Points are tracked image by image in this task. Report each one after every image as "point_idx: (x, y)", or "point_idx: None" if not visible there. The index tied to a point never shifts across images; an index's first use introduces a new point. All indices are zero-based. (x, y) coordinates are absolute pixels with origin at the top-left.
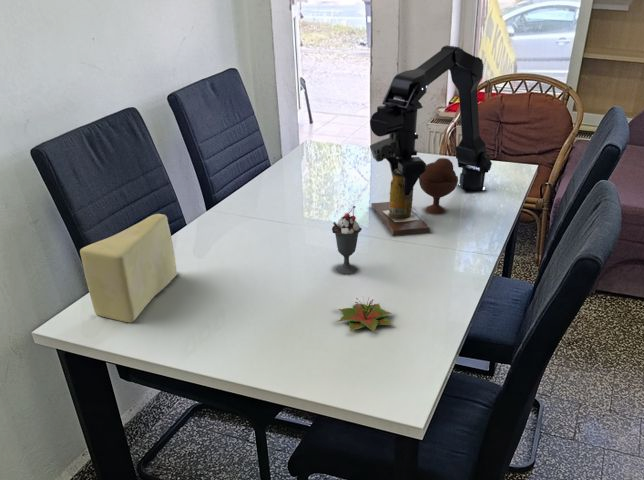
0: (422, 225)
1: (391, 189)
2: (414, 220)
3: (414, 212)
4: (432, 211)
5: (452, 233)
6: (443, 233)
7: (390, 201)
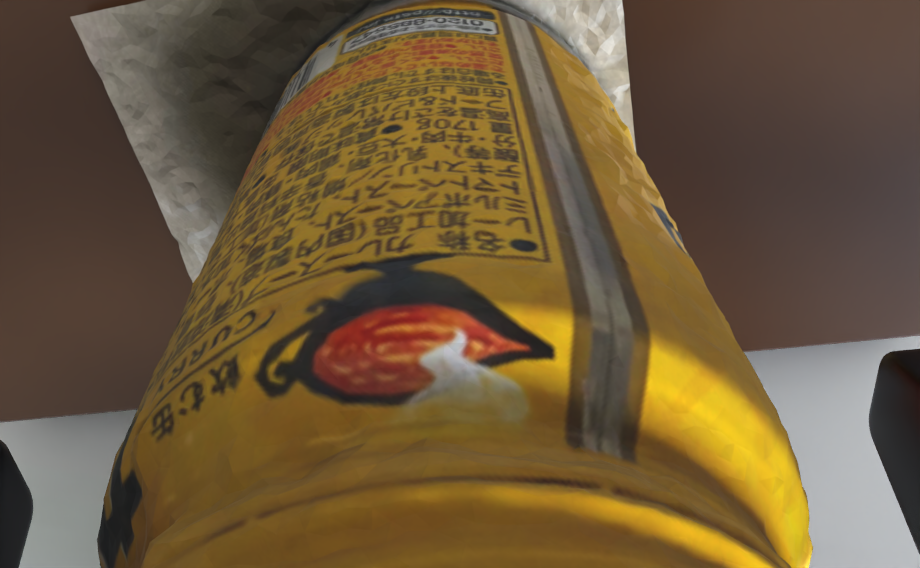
0: (41, 361)
1: (373, 200)
2: None
3: None
4: None
5: (45, 556)
6: (32, 492)
7: (407, 70)
